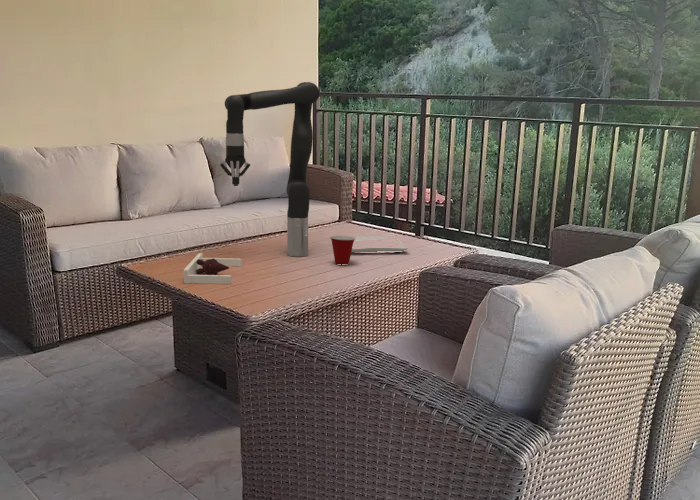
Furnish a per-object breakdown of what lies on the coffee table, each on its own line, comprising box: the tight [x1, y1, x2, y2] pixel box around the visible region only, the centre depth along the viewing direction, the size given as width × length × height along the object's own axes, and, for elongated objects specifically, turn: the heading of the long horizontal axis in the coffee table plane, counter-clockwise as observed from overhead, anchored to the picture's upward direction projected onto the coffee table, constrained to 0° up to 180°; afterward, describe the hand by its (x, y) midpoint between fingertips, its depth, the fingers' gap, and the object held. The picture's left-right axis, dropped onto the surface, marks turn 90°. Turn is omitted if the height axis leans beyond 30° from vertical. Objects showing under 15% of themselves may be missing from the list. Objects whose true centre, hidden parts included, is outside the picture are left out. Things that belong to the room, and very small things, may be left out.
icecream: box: [196, 257, 230, 275], centre depth 247 cm, size 7×7×15 cm
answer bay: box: [183, 252, 242, 285], centre depth 249 cm, size 18×27×5 cm, turn 1°
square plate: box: [351, 235, 409, 253], centre depth 300 cm, size 27×27×4 cm
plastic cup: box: [329, 234, 356, 266], centre depth 269 cm, size 11×11×12 cm
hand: (235, 185), depth 268 cm, fingers closed
